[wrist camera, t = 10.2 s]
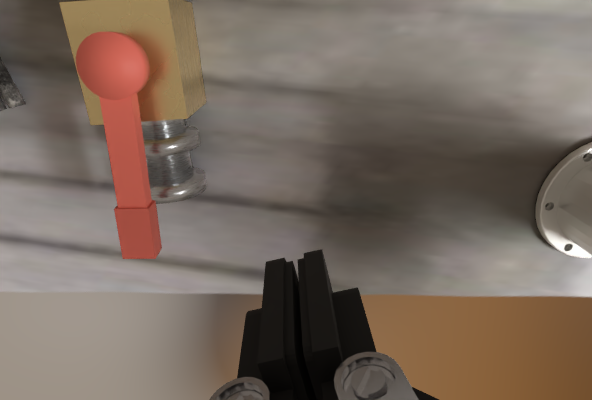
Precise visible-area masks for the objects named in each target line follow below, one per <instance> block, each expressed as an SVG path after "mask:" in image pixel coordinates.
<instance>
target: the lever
mask: <svg viewBox="0 0 592 400" xmlns="http://www.w3.org/2000/svg"><path fill="white" fill-rule="evenodd" d="M76 67H77V71H78V74H79V76H80V78H81V80H82V81H83V83H84V84H85V85H86V87H87V88H88V89H89V90H90V91H92V92H93V93H94V94H96V95H98V96H99V99H100V105H101V111H102V116H103V122H104V128H105V134H106V140H107V146H108V152H109V157H110V163H111V169H112V175H113V181H114V187H115V193H116V198H117V204H118V206H117V207H116V208H115V209H114V211H115V217H116V222H117V228H118V234H119V240H120V245H121V251H122V257H123V259H156V257H157V255H158V254H159V252H160V250H161V248H162V246H161V239H160V231H159V224H158V216H157V208H156V201H155V200H152V199H151V191H150V184H149V177H148V169H147V162H146V154H145V147H144V140H143V132H142V125H141V118H140V110H139V103H138V96H137V93H138V92H139V91H141V90H142V89H143V88H144V86H145V85H146V83H147V81H148V79H149V75H150V64H149V60H148V57H147V54H146V52H145V51H144V49H143V48H142V46H141V45H140V44H139V43H138V42H137V41H136V40H135V39H133V38H132V37H130V36H128V35H126V34H123V33H120V32H97V33H93V34H91V35H89V36H87V37H86V38H85V39H84V40H83V41H82V42H81V44H80V45H79V47H78V50H77V53H76Z"/></svg>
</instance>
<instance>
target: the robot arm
mask: <svg viewBox="0 0 592 400" xmlns="http://www.w3.org/2000/svg"><path fill="white" fill-rule="evenodd" d="M535 217H536V222H537V227H538V229H539V231H540V233H541V235H542V236H543V237H544V239H545V240H546V241H547V242H548V243H549V244H550V245H552V246H553V247H554V248H555V249H557V250H558V251H560V252H562V253H563V254H566V255H569V256H573V257H578V258H592V142H591V143H588V144H586V145H584V146H581V147H580V148H578V149H576V150H575V151H573V152H572V153H570V154H569V155H567V156H566V157H565V158H564V159H563V160H562V161H560V162H559V163H558V164H557V165H556V167H555V168H554V169H553V170H552V171H551V172H550V174H549V175H548V177H547V178H546V180H545V181H544V183H543V185H542V187H541V189H540V192H539V194H538V198H537V202H536V214H535ZM298 275H299V281H298V277H297V274H296V270H295V267H294V264H293V261H290V262H286V260H285V258H281V259H277V260H272V261H268V262H266V266H265V277H264V289H263V301H262V308H261V309H256V310H252V311H248V312H247V314H246V319H245V326H244V334H243V341H242V347H241V355H240V362H239V369H238V376H237V379H234V380H232V381H230V382H228V383H226V384H225V385H223V386H222V387H221V388H219V389H218V390H217V391H216V392H215V393H214V394H213V396H212V397H211V398H210V400H439V399H436V398H434V397H432V396H430V395H428V394H426V393H424V392H422V391H419V390H417V389H415V388H413V387H411V385H410V384H409V382H408V380H407V378H406V376H405V375H404V373H403V371H402V369H401V368H400V366H399V365H398V364H397V362H396V361H395V360H394V359H392V358H391V357H389V356H387V355H385V354H382V353H378V352H376V349H375V345H374V342H373V338H372V335H371V332H370V328H369V324H368V321H367V317H366V314H365V310H364V307H363V303H362V300H361V296H360V293H359V290H358V287H357V288H352V289H348V290H343V291H339V292H334V293H333V291H332V287H331V283H330V279H329V275H328V271H327V267H326V263H325V259H324V255H323V252H322V249H321V250H317V251H312V252H308V253H304V259H299V260H298Z"/></svg>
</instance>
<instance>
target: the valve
mask: <svg viewBox="0 0 592 400" xmlns="http://www.w3.org/2000/svg"><path fill="white" fill-rule="evenodd" d="M0 93H1V94H2V96H3V98H4V100H5V101H6V103H7V105H8V107H9V108H12V107H16V106H20V105H23V104H26V103H25V101H24V99H23V97H22V96H21V94H20V92H19V90H18V88H17V87H16V85H15V83H14V81H13V79H12V78H11V76H10V74H9V72H8V70H7V69H6V67H5V65H4V63H3V61H2V60H1V58H0ZM4 109H7V108H6V106H5V104H4V102H3V101H2V99H1V97H0V111H1V110H4Z"/></svg>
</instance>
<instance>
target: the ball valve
mask: <svg viewBox="0 0 592 400" xmlns="http://www.w3.org/2000/svg"><path fill="white" fill-rule="evenodd" d="M59 4H60V7H61V11H62V15H63V19H64V23H65V27H66V31H67V35H68V39H69V42H70V46H71V50H72V54H73V58H74V62H75V66H76V53H77V50H78V47H79V45H80V44H81V42H82V41H83V40H84V39H85V38H86V37H87V36H89V35H91V34H93V33H97V32H120V33H123V34H126V35H128V36H130V37H132V38H133V39H135V40H136V41H137V42H138V43H139V44H140V45H141V46H142V48H143V49H144V51H145V52H146V54H147V57H148V60H149V64H150V75H149V79H148V81H147V83H146V85H145V86H144V88H143V89H142V90H141V91H139V92H138V93H137V96H138V103H139V110H140V118H141V125H142V132H143V140H144V147H145V154H146V162H147V169H148V177H149V184H150V191H151V199H152V200H155V201H156V204H160V203H171V202H177V201H182V200H185V199H189V198H192V197H194V196H196V195H198V194H200V193H202V192H203V191H204V190H205V189H206V188H207V183H206V177H205V172H204V171H203V170H202V169H199V168H194V167H192V163H191V157H190V150H193V149H195V148H197V147H198V146H199V145H200V139H199V133H198V129H197V128H195V127H190V126H185V121H184V119H188V118H189V117H190V116H191V115H192V114H194V113H195V112H196V111H197V110H198V109H199V108H201V107H202V106H203V105H204V104H205V103H206V97H205V90H204V83H203V76H202V69H201V62H200V55H199V49H198V42H197V35H196V28H195V21H194V14H193V7H192V3H190V2H187V1H184V0H86V1H71V2H59ZM76 70H77V67H76ZM77 74H78V71H77ZM78 77H79V81H80V85H81V89H82V93H83V97H84V101H85V105H86V108H87V112H88V116H89V120H90V124H91V125H103V124H104V122H103V116H102V111H101V105H100V99H99V96H98V95H96V94H94V93H93V92H92V91H90V90H89V89H88V88H87V87H86V85H85V84H84V83H83V81H82V80H81V78H80V76H79V74H78Z"/></svg>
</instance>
